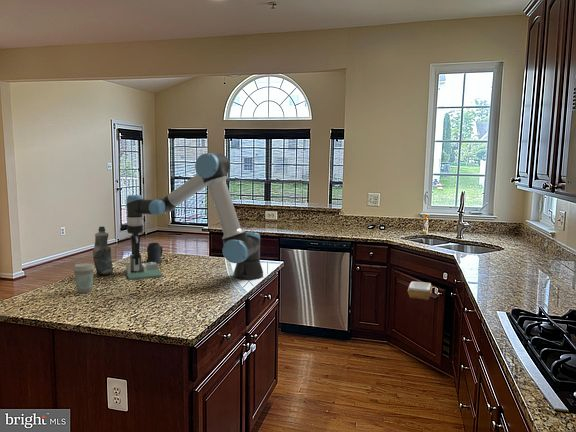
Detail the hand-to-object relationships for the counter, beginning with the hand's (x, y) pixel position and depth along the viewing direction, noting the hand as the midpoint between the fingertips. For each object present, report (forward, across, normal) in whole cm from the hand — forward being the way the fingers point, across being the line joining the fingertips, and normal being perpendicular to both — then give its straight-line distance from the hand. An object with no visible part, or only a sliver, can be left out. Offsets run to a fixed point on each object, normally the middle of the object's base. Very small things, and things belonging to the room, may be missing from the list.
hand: (135, 269), depth 220 cm
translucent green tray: (+2, -3, -3) cm, 5 cm away
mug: (+2, +23, -14) cm, 27 cm away
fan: (+1, +4, -8) cm, 9 cm away
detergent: (+2, +2, +15) cm, 16 cm away
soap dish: (+2, -93, -107) cm, 142 cm away
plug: (0, 0, 0) cm, 0 cm away
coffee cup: (+2, -25, +25) cm, 35 cm away
